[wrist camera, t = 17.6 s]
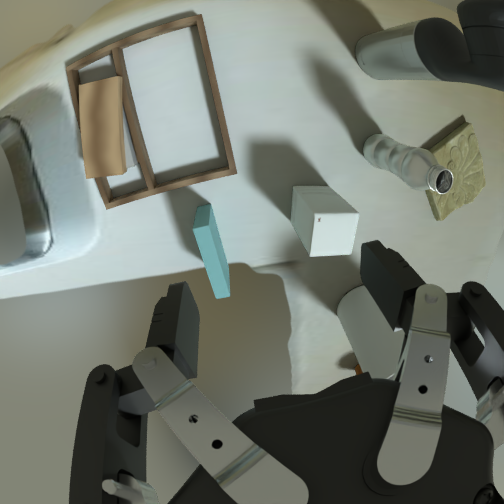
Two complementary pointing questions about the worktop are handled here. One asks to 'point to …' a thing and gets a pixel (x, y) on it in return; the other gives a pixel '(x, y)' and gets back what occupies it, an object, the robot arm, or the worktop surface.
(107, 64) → the worktop surface
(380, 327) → the cylinder vase
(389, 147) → the plastic bottle
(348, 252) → the supplement box
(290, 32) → the worktop surface
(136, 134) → the tray
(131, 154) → the grey flat panel
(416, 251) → the worktop surface
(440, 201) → the decorative tile
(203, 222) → the teal block
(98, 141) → the oak offcut top
